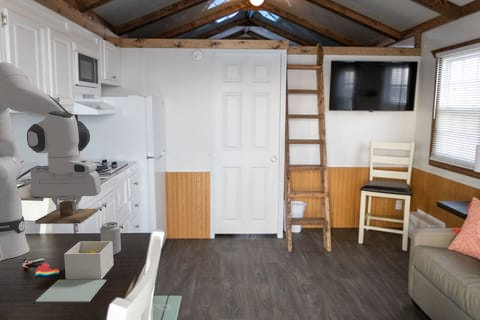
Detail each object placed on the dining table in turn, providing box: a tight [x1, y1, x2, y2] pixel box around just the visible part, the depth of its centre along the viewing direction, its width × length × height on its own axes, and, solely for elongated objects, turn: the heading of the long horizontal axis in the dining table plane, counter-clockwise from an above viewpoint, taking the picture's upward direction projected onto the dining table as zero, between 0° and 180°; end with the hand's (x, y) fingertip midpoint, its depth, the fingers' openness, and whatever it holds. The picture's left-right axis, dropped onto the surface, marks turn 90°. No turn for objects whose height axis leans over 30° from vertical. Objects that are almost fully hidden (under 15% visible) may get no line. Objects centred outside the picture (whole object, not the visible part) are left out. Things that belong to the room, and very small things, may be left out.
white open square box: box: [63, 240, 114, 280], centre depth 129 cm, size 12×12×9 cm
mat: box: [34, 279, 107, 303], centre depth 116 cm, size 16×14×1 cm
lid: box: [34, 199, 98, 225], centre depth 113 cm, size 13×13×5 cm
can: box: [99, 221, 122, 256], centre depth 147 cm, size 8×8×12 cm
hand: (67, 210), depth 113 cm, fingers closed on lid, 3 cm apart
